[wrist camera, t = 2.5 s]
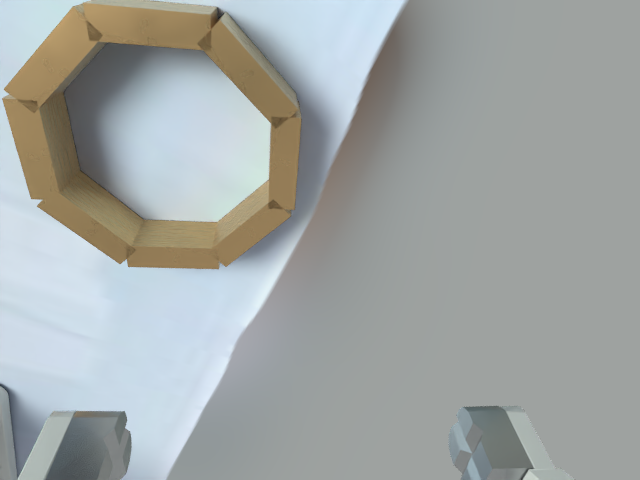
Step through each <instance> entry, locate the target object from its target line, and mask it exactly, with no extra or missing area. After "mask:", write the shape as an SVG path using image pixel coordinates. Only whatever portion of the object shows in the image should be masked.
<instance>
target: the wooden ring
mask: <svg viewBox="0 0 640 480" xmlns="http://www.w3.org/2000/svg"><path fill="white" fill-rule="evenodd" d="M107 42H110V43H122V44H134V45H146V46H158V47H170V48H182V49H194V50H203V51H204V52H205V53H206V54H207V55H208V56H209V57H210V58H211V59H212V60H213V61H214V63H215V64H216V65H217V66H218V67H219V68H220V69H221V70H222V71H223V72H224V73H225V74H226V75H227V77H228V78H229V79H230V80H231V81H232V82H233V83H234V84H235V85H236V86H237V87H238V88H239V89H240V91H241V92H242V93H243V94H244V95H245V96H246V97H247V98H248V99H249V100H250V101H251V102H252V103H253V104H254V106H255V107H256V108H257V109H258V110H259V111H260V112H261V113H262V114H263V115H264V116H265V117H266V118H267V120H268V121H269V122H270V123H271V135H270V163H269V180H268V181H267V182H265V183H264V184H263V185H262V186H261V187H259V188H258V189H257V190H256V191H255V192H253V193H252V194H251V195H250V196H248V197H247V198H246V199H245V200H244V201H242V202H241V203H240V204H239V205H238V206H236V207H235V208H234V209H233V210H232V211H230V212H229V213H228V214H227V215H225V216H224V217H223V218H222V219H221V220H219V221H218V222H192V221H165V220H144V219H142V218H141V217H140V216H138V215H137V214H136V213H135V212H133V211H132V210H131V209H129V208H128V207H127V206H126V205H124V204H123V203H122V202H120V201H119V200H118V199H116V198H115V197H114V196H113V195H111V194H110V193H109V192H107V191H106V190H105V189H104V188H102V187H101V186H100V185H98V184H97V183H96V182H95V181H93V180H92V179H91V178H89V177H88V176H87V175H86V174H84V173H83V172H82V171H80V167H79V163H78V158H77V153H76V148H75V144H74V139H73V134H72V130H71V125H70V120H69V116H68V111H67V106H66V102H65V97H64V92H63V91H64V90H65V89H66V88H67V87H68V86H69V85H70V83H71V82H72V81H73V80H74V79H75V78H76V77H77V76H78V75H79V73H80V72H81V71H82V70H83V69H84V68H85V67H86V66H87V65H88V63H89V62H90V61H91V60H92V59H93V58H94V57H95V56H96V55H97V53H98V52H99V51H100V50H101V49H102V48H103V47H104V46H105V45H106V43H107ZM4 90H5V91H6V92H8V93H9V95H7V96H6V97H4V98H2V100H3V103H4V106H5V110H6V113H7V117H8V120H9V124H10V127H11V131H12V134H13V138H14V141H15V145H16V148H17V152H18V155H19V158H20V162H21V165H22V169H23V172H24V176H25V179H26V183H27V186H28V190H29V193H30V197H31V199H43V200H42V201H41V202H40V203H39V204H38V205H37V207H39V208H40V209H42V210H43V211H44V212H46V213H47V214H49V215H50V216H52V217H53V218H54V219H56V220H57V221H59V222H60V223H62V224H63V225H65V226H66V227H67V228H69V229H70V230H72V231H73V232H75V233H76V234H77V235H79V236H80V237H82V238H83V239H85V240H86V241H87V242H89V243H90V244H92V245H93V246H95V247H96V248H98V249H99V250H100V251H102V252H103V253H105V254H106V255H108V256H109V257H110V258H112V259H113V260H115V261H116V262H118V263H119V264H121V263H122V262H123V261H125V260H126V259H127V263H128V267H155V268H196V269H219V265H220V263H222V264H223V265H224V266H225V267H226V266H228V265H229V264H230V263H232V262H233V261H234V260H235V259H237V258H238V257H239V256H241V255H242V254H243V253H244V252H246V251H247V250H248V249H250V248H251V247H252V246H253V245H255V244H256V243H257V242H259V241H260V240H261V239H262V238H264V237H265V236H266V235H268V234H269V233H270V232H271V231H273V230H274V229H275V228H277V227H278V226H279V225H280V224H282V223H283V222H284V221H286V220H287V219H288V218H289V217H291V210H295V198H296V185H297V171H298V158H299V144H300V131H301V113H300V106H299V101H297V96H296V93H295V91H294V90H293V89H292V88H291V87H290V86H289V84H288V83H287V82H286V81H285V80H284V79H283V77H282V76H281V75H280V74H279V73H278V72H277V70H276V69H275V68H274V67H273V66H272V65H271V63H270V62H269V61H268V60H267V59H266V58H265V56H264V55H263V54H262V53H261V52H260V51H259V49H258V48H257V47H256V46H255V45H254V44H253V43H252V41H251V40H250V39H249V38H248V37H247V36H246V34H245V33H244V32H243V31H242V30H241V29H240V27H239V26H238V25H237V24H236V23H235V22H234V20H233V19H232V18H231V17H230V16H229V15H228V13H227V12H225V13H224V14H223V15H222V16H221V17H220V18H219V19H218V14H217V7H213V6H202V5H192V4H181V3H171V2H160V1H150V0H91V1H87V2H84V3H83V4H80V5H76V6H73V7H72V8H71V10H70V11H69V12H68V13H67V14H66V16H65V17H64V18H63V19H62V20H61V22H60V23H59V24H58V25H57V26H56V27H55V29H54V30H53V31H52V32H51V33H50V35H49V36H48V37H47V38H46V39H45V41H44V42H43V43H42V44H41V45H40V47H39V48H38V49H37V50H36V51H35V53H34V54H33V55H32V56H31V57H30V59H29V60H28V61H27V62H26V63H25V64H24V66H23V67H22V68H21V69H20V70H19V72H18V73H17V74H16V75H15V76H14V78H13V79H12V80H11V81H10V82H9V84H8V85H7V86H6V87H5V88H4Z"/></svg>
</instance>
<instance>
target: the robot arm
mask: <svg viewBox="0 0 640 480" xmlns="http://www.w3.org/2000/svg"><path fill="white" fill-rule="evenodd" d="M457 418H458V421H459V422H457V423H456V424H455V425H453V426H452V427H451V430H450V433H449V450H450V455H451V458H452V461H453V464H454V465H455V466H456V467H457V468H458V469H459V470H460V471H461V472H462V473H463V474H462V477H461V480H575V479H573V478H572V477H571V476H570V475H569V474H567V473H566V472H565V471H564V470H563V469H561V468H555V466H554V464H553V463H552V461H551V459H550V457H549V455H548V453H547V452H546V450H545V448H544V446H543V444H542V442H541V441H540V439H539V437H538V435H537V433H536V431H535V429H534V428H533V426H532V424H531V422H530V420H529V419H528V417H527V415H526V413H525V411H524V410H523V409H522V408H521V407H519V406H502V407H499V406H480V407H479V406H478V407H462V408H461V409H459V411H458V413H457ZM126 422H127V417H126V414H125V411H53V413H52V414H51V415H50V416H49V417H48V418H47V420H46V422H45V424H44V426H43V428H42V430H41V432H40V434H39V436H38V438H37V441H36V443H35V445H34V447H33V449H32V451H31V453H30V455H29V457H28V459H27V461H26V463H25V465H24V467H23V469H22V471H21V473H20V476H19V478H18V479H17V469H16V460H15V451H14V442H13V433H12V424H11V415H10V405H9V397H8V393H7V391H6V390H5V389H4V388H2V387H0V480H120V479H121V478H122V477H123V476H124V475H125V474H126V472H127V468H128V465H129V461H130V454H131V434H130V431H128V430H127V429H125V426H126Z"/></svg>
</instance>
